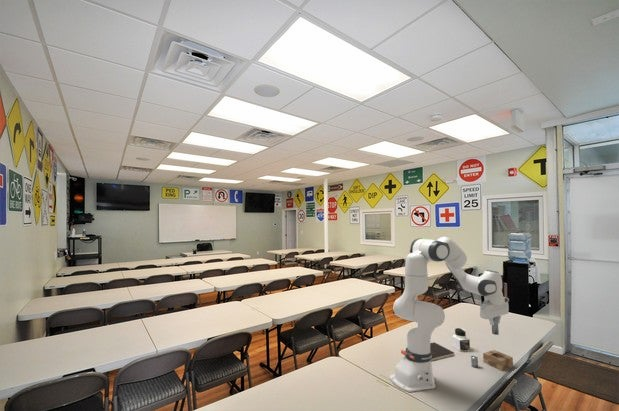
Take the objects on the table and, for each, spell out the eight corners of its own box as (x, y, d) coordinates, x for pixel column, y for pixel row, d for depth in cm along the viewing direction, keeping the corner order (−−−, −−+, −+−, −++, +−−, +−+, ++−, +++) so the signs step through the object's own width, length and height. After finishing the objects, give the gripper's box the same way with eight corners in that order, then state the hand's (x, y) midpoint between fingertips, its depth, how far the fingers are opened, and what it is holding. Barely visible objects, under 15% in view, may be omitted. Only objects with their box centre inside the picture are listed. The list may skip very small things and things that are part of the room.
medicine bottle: (460, 351, 169) (459, 331, 170) (452, 346, 176) (451, 327, 177) (470, 350, 170) (469, 330, 171) (461, 345, 177) (461, 326, 178)
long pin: (496, 335, 151) (495, 316, 152) (490, 333, 154) (489, 315, 155) (500, 334, 153) (499, 316, 153) (494, 331, 156) (493, 314, 156)
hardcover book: (454, 356, 164) (454, 352, 164) (425, 363, 155) (425, 359, 156) (433, 345, 179) (433, 341, 179) (405, 351, 170) (405, 347, 170)
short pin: (475, 368, 149) (475, 359, 150) (470, 365, 152) (469, 356, 152) (479, 367, 150) (479, 357, 151) (473, 364, 153) (473, 355, 154)
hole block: (501, 370, 147) (501, 361, 147) (483, 362, 156) (483, 353, 156) (513, 366, 151) (512, 357, 151) (494, 358, 160) (494, 349, 160)
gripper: (487, 303, 147) (488, 329, 147) (510, 298, 155) (511, 322, 155) (476, 300, 153) (477, 325, 152) (499, 295, 161) (500, 319, 161)
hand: (494, 324), depth 154 cm, fingers closed on long pin, 3 cm apart
